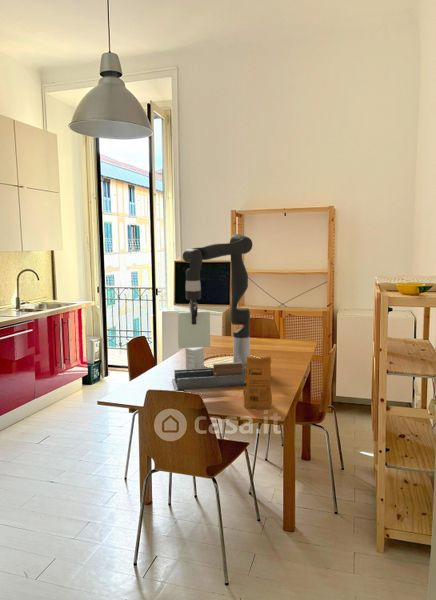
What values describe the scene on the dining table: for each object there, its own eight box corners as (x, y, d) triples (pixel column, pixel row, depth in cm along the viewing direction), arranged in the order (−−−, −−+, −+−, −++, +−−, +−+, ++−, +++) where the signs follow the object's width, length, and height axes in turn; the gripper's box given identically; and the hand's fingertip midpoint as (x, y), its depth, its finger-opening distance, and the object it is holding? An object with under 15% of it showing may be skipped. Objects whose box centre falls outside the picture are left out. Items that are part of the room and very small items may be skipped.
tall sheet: (178, 347, 240) (177, 312, 238) (209, 346, 243) (209, 311, 241) (178, 348, 239) (177, 312, 236) (210, 346, 241) (209, 311, 239)
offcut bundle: (213, 381, 240) (213, 363, 239) (240, 379, 243) (240, 362, 241) (215, 384, 234) (215, 367, 233) (243, 383, 237) (243, 365, 236)
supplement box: (195, 367, 271) (195, 345, 270) (204, 369, 266) (204, 347, 264) (185, 369, 266) (185, 347, 265) (194, 372, 261) (194, 349, 259)
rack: (172, 381, 245) (172, 369, 244) (244, 377, 252) (244, 365, 251) (175, 393, 227) (175, 380, 226) (253, 388, 233) (253, 375, 232)
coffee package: (243, 401, 215) (243, 353, 212) (271, 401, 215) (271, 353, 212) (243, 409, 206) (242, 359, 203) (272, 409, 205) (272, 359, 202)
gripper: (184, 288, 243) (184, 321, 245) (187, 291, 229) (187, 326, 232) (198, 287, 244) (199, 321, 247) (202, 290, 231) (203, 326, 233)
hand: (193, 323), depth 239 cm, fingers closed on tall sheet, 1 cm apart
